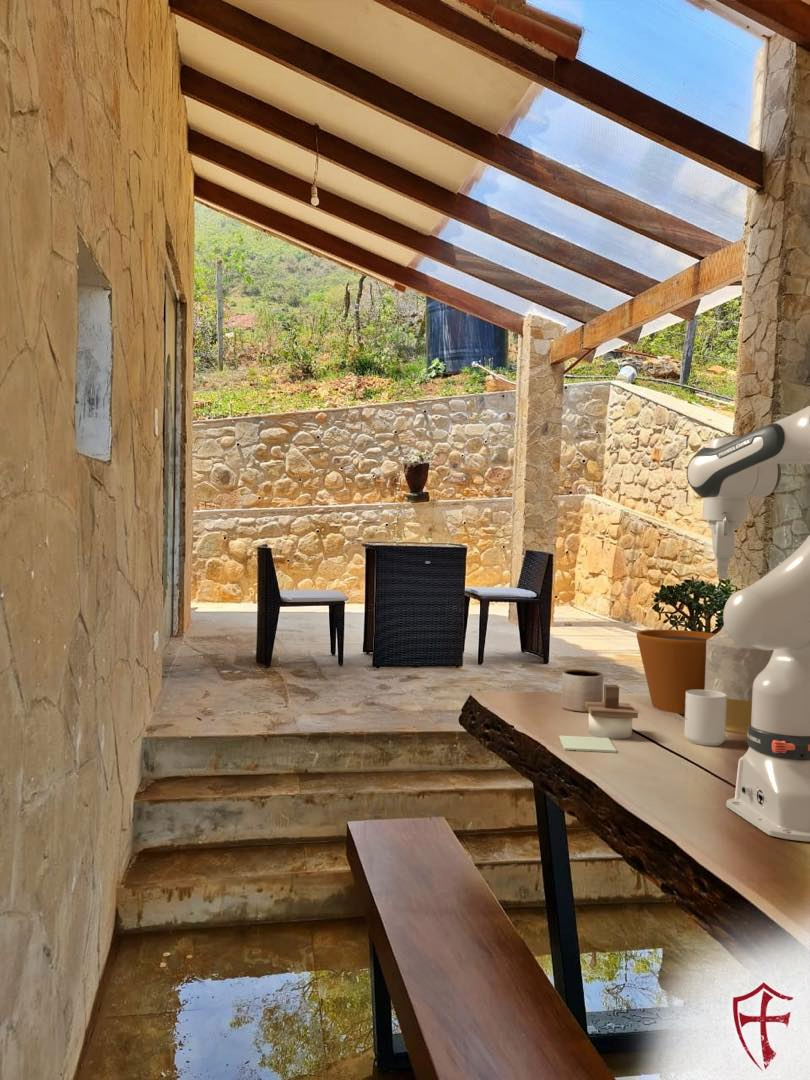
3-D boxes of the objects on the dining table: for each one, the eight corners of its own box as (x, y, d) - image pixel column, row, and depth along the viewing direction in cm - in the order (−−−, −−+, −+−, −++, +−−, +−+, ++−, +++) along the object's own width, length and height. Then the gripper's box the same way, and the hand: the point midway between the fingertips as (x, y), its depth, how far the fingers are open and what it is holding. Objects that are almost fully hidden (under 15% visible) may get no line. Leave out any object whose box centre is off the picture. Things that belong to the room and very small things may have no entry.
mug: (727, 748, 189) (728, 698, 189) (685, 744, 191) (686, 695, 191) (721, 735, 201) (723, 688, 201) (682, 732, 203) (683, 686, 203)
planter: (552, 705, 229) (553, 670, 229) (585, 703, 234) (586, 668, 234) (577, 714, 220) (578, 677, 219) (611, 711, 224) (612, 675, 224)
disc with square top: (635, 739, 194) (636, 718, 194) (591, 737, 195) (592, 715, 195) (627, 729, 204) (628, 708, 204) (585, 727, 205) (586, 706, 205)
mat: (616, 752, 182) (616, 750, 182) (564, 750, 183) (564, 747, 183) (607, 740, 193) (608, 737, 193) (559, 737, 194) (559, 735, 194)
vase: (744, 715, 224) (748, 600, 223) (799, 732, 207) (804, 607, 206) (687, 719, 217) (692, 600, 217) (740, 737, 200) (745, 607, 200)
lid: (637, 718, 194) (638, 691, 194) (591, 716, 195) (592, 689, 195) (628, 708, 204) (629, 682, 204) (585, 706, 205) (586, 680, 205)
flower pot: (616, 701, 237) (618, 630, 237) (684, 697, 246) (686, 628, 246) (674, 720, 215) (676, 642, 215) (746, 715, 224) (749, 639, 224)
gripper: (742, 513, 172) (740, 581, 172) (738, 512, 191) (735, 574, 192) (709, 512, 174) (707, 580, 174) (708, 512, 193) (705, 572, 194)
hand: (722, 577), depth 183 cm, fingers open, 8 cm apart
